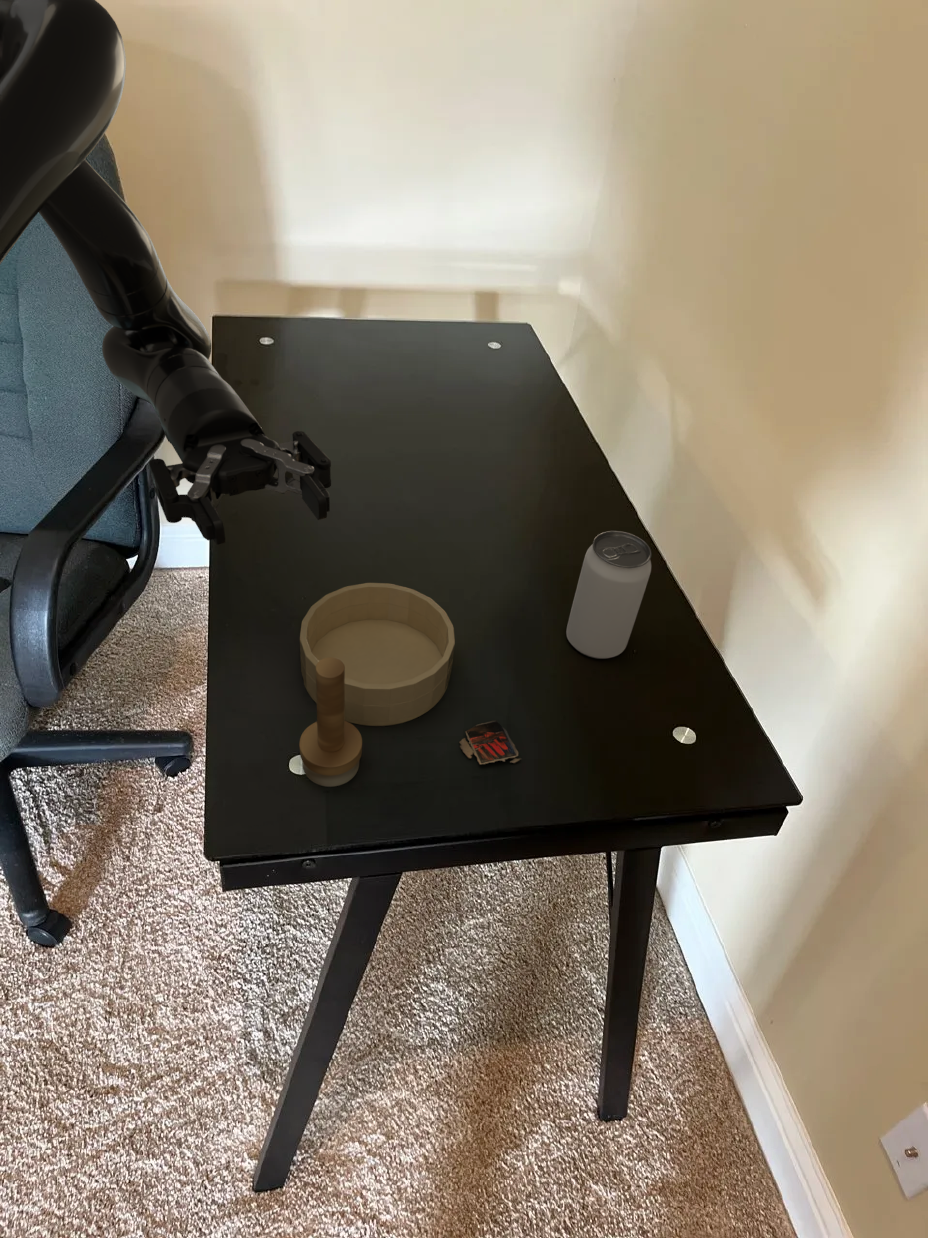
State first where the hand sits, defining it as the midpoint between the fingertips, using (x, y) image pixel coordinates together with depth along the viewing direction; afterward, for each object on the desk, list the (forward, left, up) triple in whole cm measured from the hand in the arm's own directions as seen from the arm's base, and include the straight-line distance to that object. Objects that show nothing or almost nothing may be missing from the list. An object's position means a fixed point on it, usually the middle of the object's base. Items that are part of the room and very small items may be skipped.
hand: (273, 522), depth 66 cm
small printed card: (+20, -2, -18) cm, 27 cm away
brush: (+8, -8, -18) cm, 21 cm away
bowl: (+8, +4, -18) cm, 20 cm away
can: (+28, +16, -18) cm, 37 cm away
